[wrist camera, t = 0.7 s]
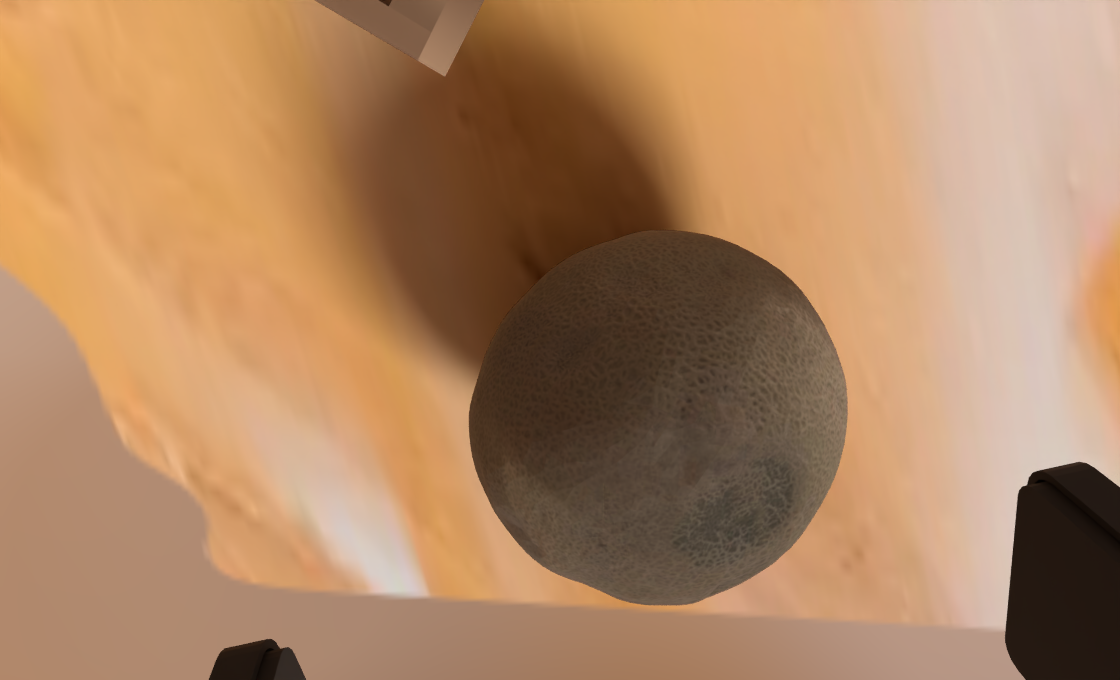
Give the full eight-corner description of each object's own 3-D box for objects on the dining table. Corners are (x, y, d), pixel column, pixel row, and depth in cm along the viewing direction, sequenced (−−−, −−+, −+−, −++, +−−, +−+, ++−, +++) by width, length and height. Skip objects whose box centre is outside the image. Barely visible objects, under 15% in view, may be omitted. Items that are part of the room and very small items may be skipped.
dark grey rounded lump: (770, 418, 40) (923, 636, 27) (507, 483, 40) (527, 735, 27) (739, 153, 34) (916, 260, 21) (430, 228, 34) (404, 386, 21)
